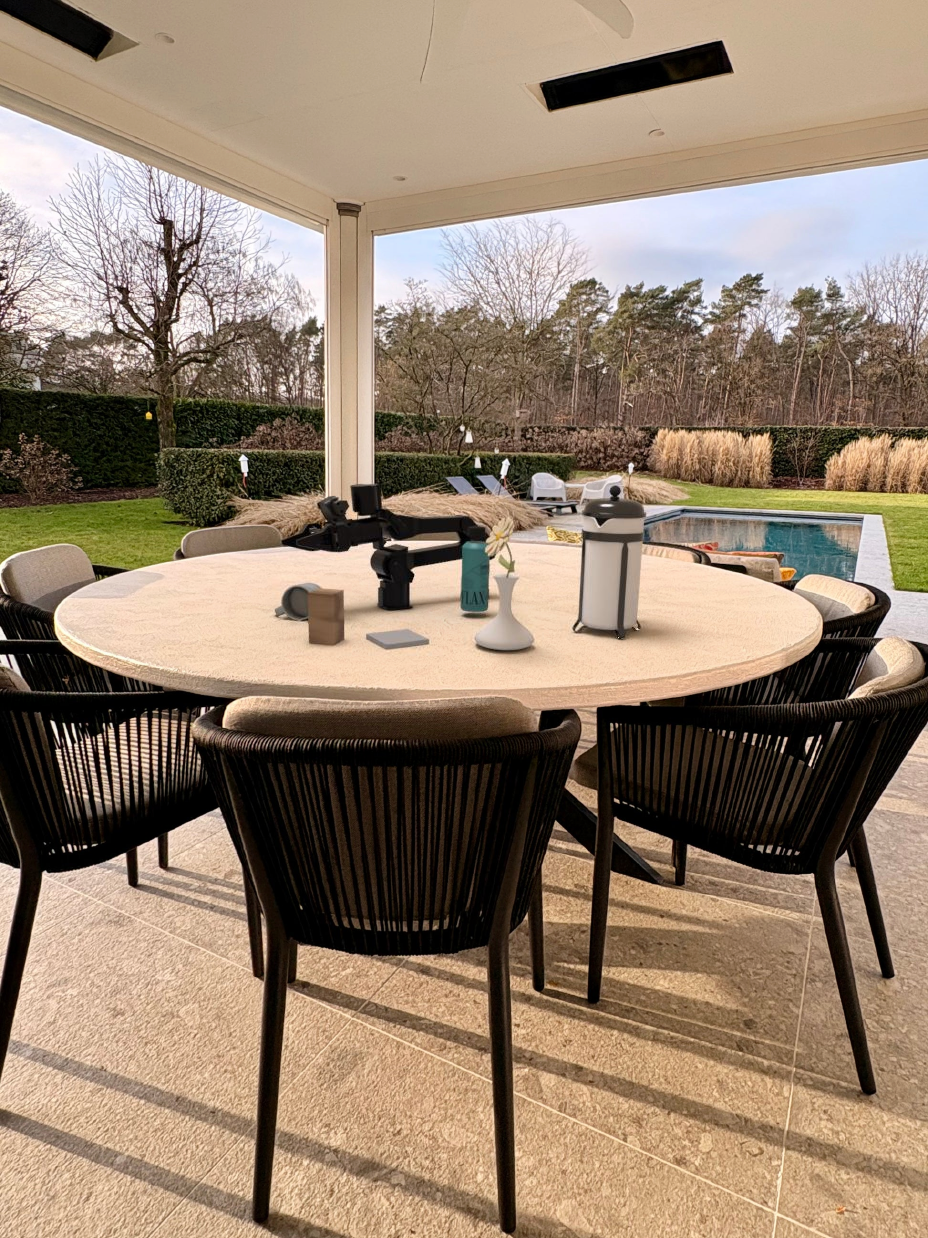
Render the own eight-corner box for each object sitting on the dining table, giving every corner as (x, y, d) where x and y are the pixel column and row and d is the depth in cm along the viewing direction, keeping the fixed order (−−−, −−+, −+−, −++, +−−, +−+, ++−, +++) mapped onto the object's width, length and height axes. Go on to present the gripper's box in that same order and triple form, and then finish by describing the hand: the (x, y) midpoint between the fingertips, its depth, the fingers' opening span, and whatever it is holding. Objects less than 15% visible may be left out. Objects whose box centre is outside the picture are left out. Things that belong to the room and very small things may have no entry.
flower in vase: (474, 639, 154) (477, 511, 148) (532, 640, 153) (537, 513, 148) (473, 657, 141) (476, 518, 135) (536, 658, 141) (542, 519, 135)
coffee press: (659, 639, 157) (671, 487, 150) (583, 640, 154) (591, 487, 147) (628, 619, 173) (637, 483, 167) (558, 621, 171) (565, 482, 164)
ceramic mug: (328, 613, 174) (327, 579, 172) (314, 621, 166) (313, 586, 164) (284, 611, 176) (282, 578, 174) (268, 619, 168) (266, 584, 166)
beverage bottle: (455, 617, 173) (456, 526, 168) (466, 611, 179) (468, 524, 174) (482, 620, 170) (485, 528, 166) (493, 614, 176) (495, 525, 172)
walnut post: (320, 638, 152) (319, 588, 150) (344, 640, 151) (343, 590, 148) (308, 644, 147) (307, 592, 145) (333, 647, 146) (332, 594, 144)
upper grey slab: (407, 633, 156) (407, 628, 156) (429, 644, 148) (429, 639, 148) (366, 638, 151) (366, 633, 151) (386, 649, 144) (386, 644, 144)
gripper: (333, 497, 179) (268, 505, 171) (368, 493, 163) (298, 502, 155) (340, 545, 181) (276, 556, 173) (376, 546, 165) (307, 557, 157)
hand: (288, 542), depth 165 cm, fingers open, 9 cm apart
